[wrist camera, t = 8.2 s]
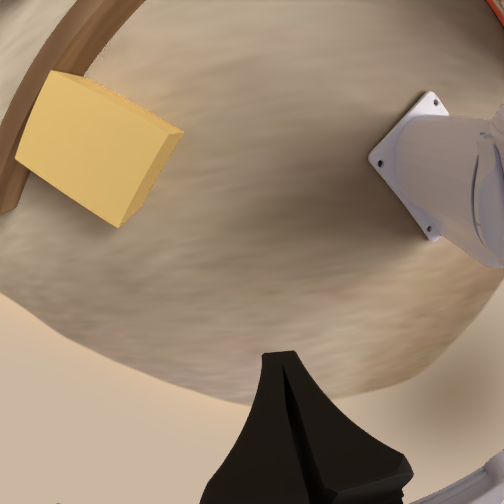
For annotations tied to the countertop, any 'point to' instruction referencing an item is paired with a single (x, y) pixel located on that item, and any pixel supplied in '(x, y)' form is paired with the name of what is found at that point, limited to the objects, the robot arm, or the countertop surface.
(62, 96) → the ochre block
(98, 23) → the walnut board
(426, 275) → the countertop surface
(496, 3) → the cracker box
